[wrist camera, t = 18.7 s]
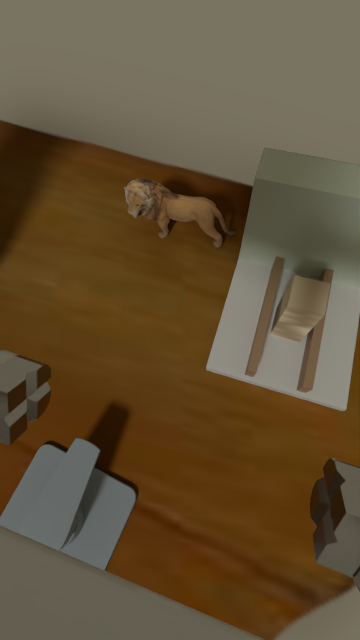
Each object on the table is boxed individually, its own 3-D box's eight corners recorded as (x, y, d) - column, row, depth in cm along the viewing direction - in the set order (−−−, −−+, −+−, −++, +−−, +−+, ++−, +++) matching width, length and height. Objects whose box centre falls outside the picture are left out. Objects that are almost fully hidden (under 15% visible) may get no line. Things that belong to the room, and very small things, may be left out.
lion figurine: (131, 244, 47) (117, 199, 39) (137, 214, 49) (124, 166, 40) (234, 250, 46) (242, 205, 37) (236, 219, 47) (244, 170, 39)
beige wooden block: (270, 334, 39) (287, 305, 32) (276, 305, 41) (295, 271, 33) (299, 342, 39) (324, 314, 31) (305, 313, 40) (330, 280, 32)
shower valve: (143, 470, 31) (60, 654, 26) (151, 467, 36) (82, 621, 32) (37, 415, 34) (-56, 574, 29) (58, 419, 39) (-18, 556, 34)
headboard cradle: (205, 369, 39) (209, 326, 25) (245, 237, 46) (265, 143, 32) (341, 411, 37) (429, 387, 23) (362, 264, 44) (441, 175, 29)
